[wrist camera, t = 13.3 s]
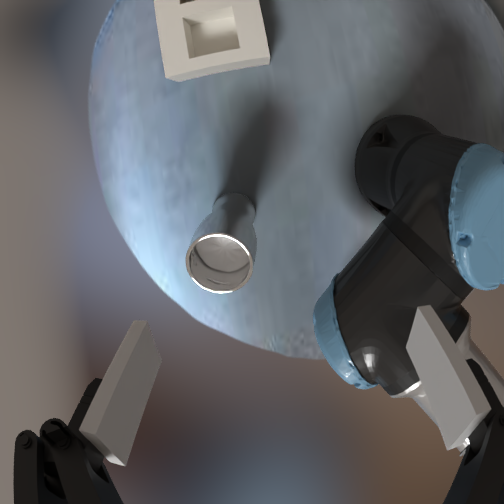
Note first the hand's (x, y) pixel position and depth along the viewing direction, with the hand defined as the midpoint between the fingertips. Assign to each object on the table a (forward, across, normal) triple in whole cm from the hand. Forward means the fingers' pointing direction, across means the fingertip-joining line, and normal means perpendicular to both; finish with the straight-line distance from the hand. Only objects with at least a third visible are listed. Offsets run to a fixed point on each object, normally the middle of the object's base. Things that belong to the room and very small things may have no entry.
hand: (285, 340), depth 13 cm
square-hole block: (+29, +6, -25) cm, 39 cm away
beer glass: (+29, +6, +3) cm, 30 cm away
